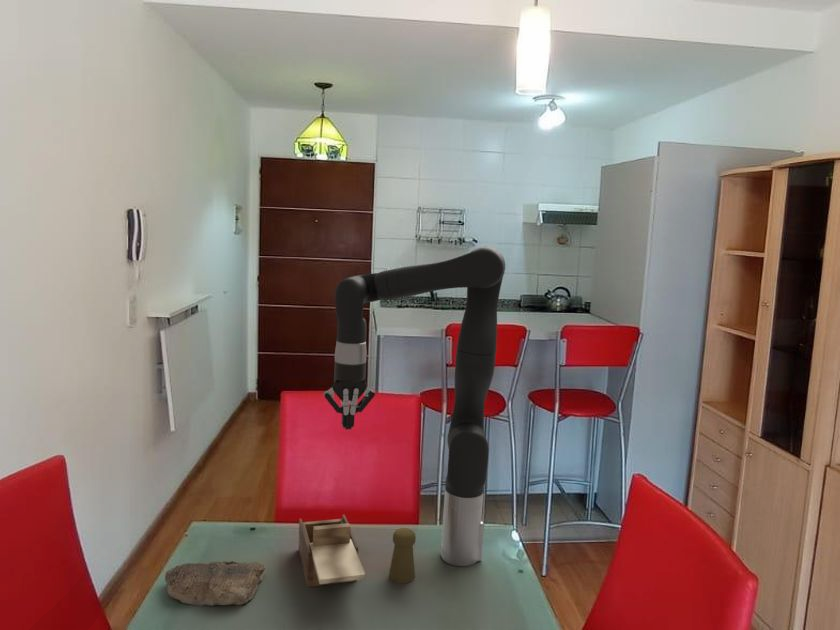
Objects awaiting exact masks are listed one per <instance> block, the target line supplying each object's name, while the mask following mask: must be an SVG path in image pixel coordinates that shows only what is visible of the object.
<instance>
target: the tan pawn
mask: <svg viewBox="0 0 840 630" xmlns="http://www.w3.org/2000/svg"><path fill="white" fill-rule="evenodd" d="M416 538H417V537H416V534H415V532H414V530H412V529H411V528H409V527H408V528H407V527H400V528H397V529H395V530H394V532H393V534H392V543H393V544H394V546H393V551H392V556H391V562H390V567H389V572H388V577H389V579H390V580H391V581H392V582H394V583H398V584H408V583H411V582H413V581H414V580H415V578H416V572H415V558H414V547H413V546H414V544H416Z"/></svg>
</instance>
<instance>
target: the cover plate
mask: <svg viewBox="0 0 840 630" xmlns="http://www.w3.org/2000/svg"><path fill="white" fill-rule="evenodd" d="M350 529H351V524H350V522H348V523H344V524H334V525H323V526H313V543H310V551H311V555H312V558H313V562H314V566H315V569H316V573H317V577H318V580H319V584H327V583H335V582H343V581H351V580H357V581H359V580H365V579H366V572H365V570H364V567H363V565H362V562H361V560H360V557H359V554H358V555H357V552H356V550H355V547H354V545H353V542H352V540H351V539H350Z"/></svg>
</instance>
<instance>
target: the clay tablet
mask: <svg viewBox="0 0 840 630" xmlns="http://www.w3.org/2000/svg"><path fill="white" fill-rule="evenodd" d="M265 571H266V566H265V565H264V564H262V563H259V562H258V561H257V562H256V561H253V562H248V563H247V562H236V561H233V560H230V561H229V560H225V561H211V562H198V563H197V562H196V563H194V562H193V563H190V562H189V563H183V564H180V565H176V566H175V567H172V568H171V569H169V570H167V571H166V572H165V577H164V581H165V583H166V584H165V585H166V586H165V588H166V590H167V593H168V595H169V596H170V597H171V598H172V599H175V600H176V601H177V600H178V601H180V603H181V604H185V605H186V604H187V605H193V606H200V607H201V606H205V605H207V606H208V607H209V606H211V607H212V606H215V605H217V606H218V605H219V606H230V605H236V606H237V605H238V606H239V605H241V606H242V605H244V604H247V603H248V602H249V601H251V600H253V598H254V597H255V595H256V593H257V591H258V590H259V589H258V588H259V586H258V584H260V583H261V582H262V581H263V580H264V577H265Z"/></svg>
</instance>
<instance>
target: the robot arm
mask: <svg viewBox="0 0 840 630" xmlns="http://www.w3.org/2000/svg"><path fill="white" fill-rule="evenodd" d="M505 271H506V261H505V258H504V256H503V255H502V253H501V252H500V251H499V250H498V249H497V248H494V247H493V246H490V245H489V246H488V245H485V246H479V247H476V248H474V249H472V250H471V251H469V252H467V253H465V254H461V255H459V256H457V257H454V258H451V259H448V260H444V261H439V262H433V263H426V264H417V265H408V266H402V267H396V268H391V269H387V270H382V271H379V272H375V273H366V274H361V275H359V274H358V275H353V276H349V277H346V278H344V279H343V278H342V280H340V281H339V282H338V284H337V285H336V287H335V290H334V309H335V314H336V315H335V316H336V319H337V326H336V343H335V344H336V345H335V351H334V371H333V372H334V374H333V375H334V376H333V382H332V384H331V387H330V388H328V390H323V392H322V393H323V394H322V395H323V396H324V399H326V400H327V402H328V403H329V404H330V405H331V407H332V408H333V409H334V411H335V412H336V413H337V414H341V425H342V427H343V429H344V430H346V431H348V430H352V428H353V427H354V426H355V415H356V414H357V413H362V412H363V411H364V409H365V408H366V407H367V406H368V405H369V404H370V402H371V401H372V400H373V399H374V397H375V396H376V393H375V392H374V391H373V390H372V389H370V388H369V387H368V384H367V382H366V377H367V376H366V375H367V374H366V373H367V351H368V350H367V328H368V327H367V321H366V319H365V318H364V304H368V303H373V302H377V301H392V300H398V299H402V298H404V299H405V298H408V297H413V296H417V295H422V294H427V293H430V292H435V291H440V290H450V289H458V288H465V289H466V304H465V310H464V313H463V318H462V320H461V325H460V328H459V334H458V337H457V344H456V350H455V351H456V353H455V361H454V362H455V363H454V364H455V365H454V401H453V402H454V404H453V409H452V415H451V420H450V425H449V427H448V433H447V438H446V439H447V447H448V459H447V471H446V472H447V474H446V478H445V483H444V485H445V486H444V487H445V488H444V501H443V515H442V517H443V518H442V528H441V529H442V531H441V545H440V557H441V559H442V560H443V562H446V563H447V564H450V565H451V566H456V567H469V566H473V565H475V564H476V563H477V562H480V561H482V558H483V548H484V547H483V546H484V533H485V523H484V522H483V520H482V515H483V502H484V501H483V500H484V490H485V485H486V482H487V474H488V464H489V451H490V450H489V449H490V448H489V443H488V442H489V441H488V439H487V437H486V434H485V423H484V422H485V419H484V418H485V417H484V416H485V404H486V399H487V396H488V393H489V390H490V387H491V384H492V380H493V377H494V373H495V367H496V366H495V365H496V357H497V342H498V304H499V298H500V293H501V292H500V291H501V287H502V283H503V278H504V275H505ZM335 394H336V396H337V397H338V399H339V400H340V403H341V406H340V405H339V404H338V402H336V400H335ZM362 395H363V396H362ZM360 397H362V398H360ZM359 399H360V400H359ZM358 400H359V402H358Z"/></svg>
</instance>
